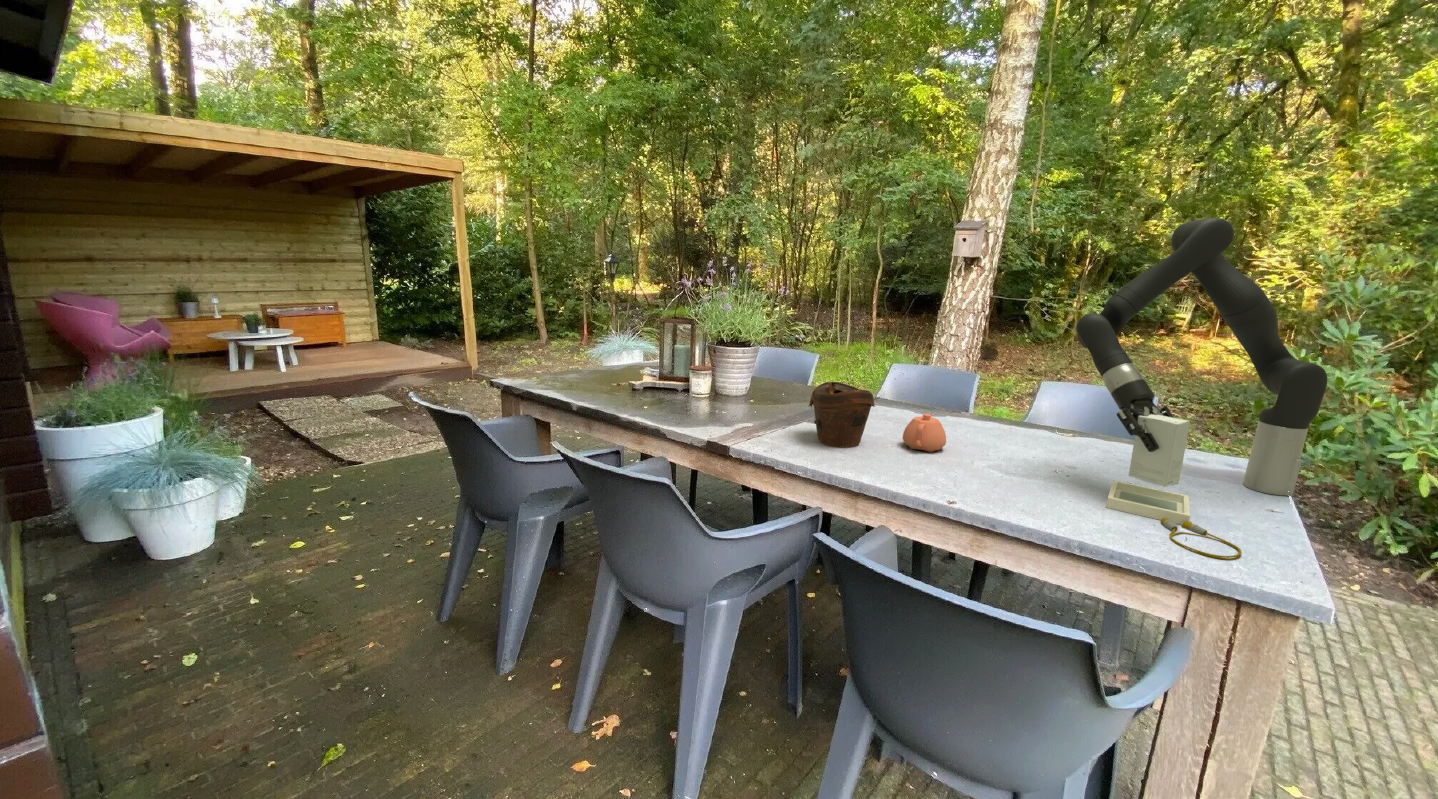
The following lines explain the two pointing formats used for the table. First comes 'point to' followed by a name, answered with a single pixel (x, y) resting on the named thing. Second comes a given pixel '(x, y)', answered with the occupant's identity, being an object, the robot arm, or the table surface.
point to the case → (840, 413)
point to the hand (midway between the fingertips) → (1165, 449)
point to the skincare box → (1160, 451)
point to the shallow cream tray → (1149, 502)
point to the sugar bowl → (924, 434)
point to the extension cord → (1199, 530)
